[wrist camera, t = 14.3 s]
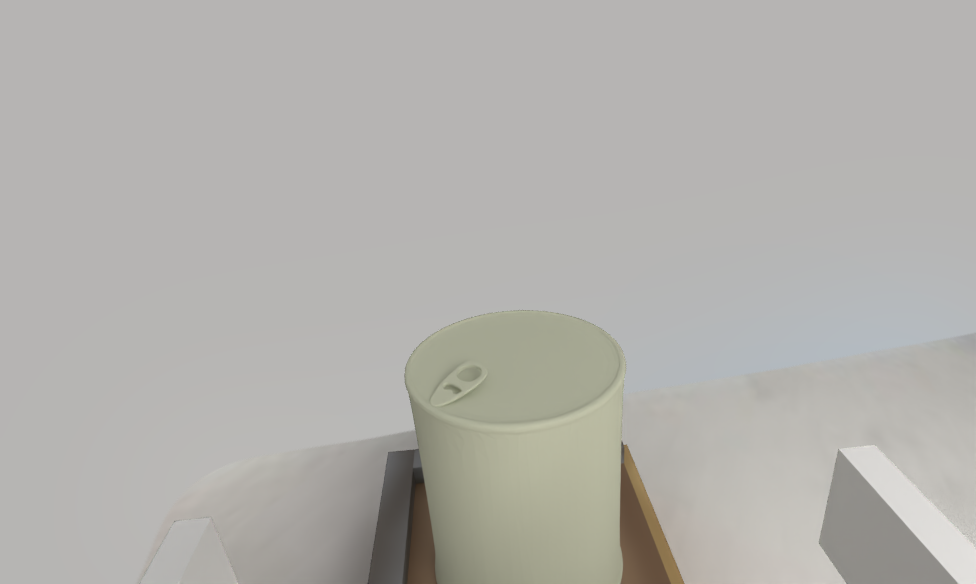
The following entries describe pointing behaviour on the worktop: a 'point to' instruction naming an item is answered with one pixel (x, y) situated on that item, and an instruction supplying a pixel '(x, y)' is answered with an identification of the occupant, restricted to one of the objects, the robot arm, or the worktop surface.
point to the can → (521, 448)
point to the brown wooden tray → (410, 546)
